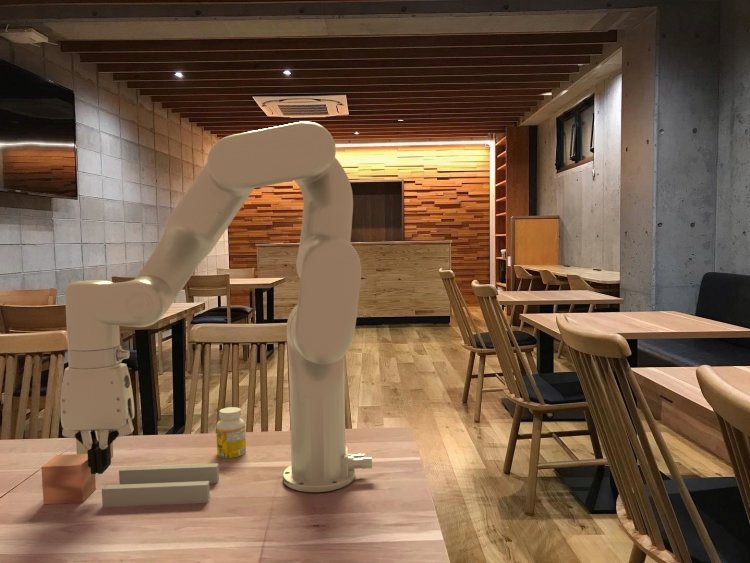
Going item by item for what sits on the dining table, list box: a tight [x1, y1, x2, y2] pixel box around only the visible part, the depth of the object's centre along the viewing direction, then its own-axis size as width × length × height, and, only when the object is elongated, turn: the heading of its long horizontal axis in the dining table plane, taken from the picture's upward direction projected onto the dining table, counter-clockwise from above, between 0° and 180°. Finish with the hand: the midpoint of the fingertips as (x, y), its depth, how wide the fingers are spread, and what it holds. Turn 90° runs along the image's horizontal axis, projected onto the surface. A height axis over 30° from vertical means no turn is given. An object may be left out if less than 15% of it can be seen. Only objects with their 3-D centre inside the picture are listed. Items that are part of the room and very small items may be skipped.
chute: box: [101, 463, 220, 508], centre depth 96 cm, size 24×12×4 cm, turn 94°
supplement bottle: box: [215, 406, 247, 459], centre depth 113 cm, size 5×5×10 cm
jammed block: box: [40, 453, 97, 505], centre depth 95 cm, size 6×5×6 cm
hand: (100, 470), depth 95 cm, fingers closed
